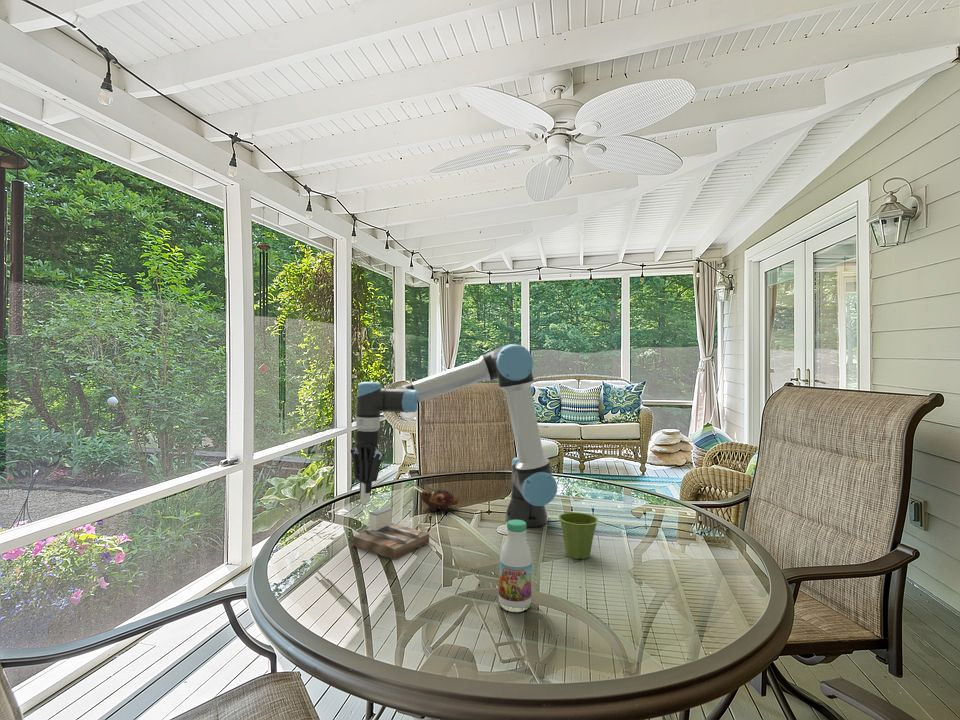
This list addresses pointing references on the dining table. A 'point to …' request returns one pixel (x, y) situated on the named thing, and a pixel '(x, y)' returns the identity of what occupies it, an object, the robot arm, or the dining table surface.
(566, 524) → the plant pot
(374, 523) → the fader knob
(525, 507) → the robot arm
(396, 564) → the dining table surface
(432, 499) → the decorative turtle
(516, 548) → the milk bottle
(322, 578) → the dining table surface
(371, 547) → the fader console
